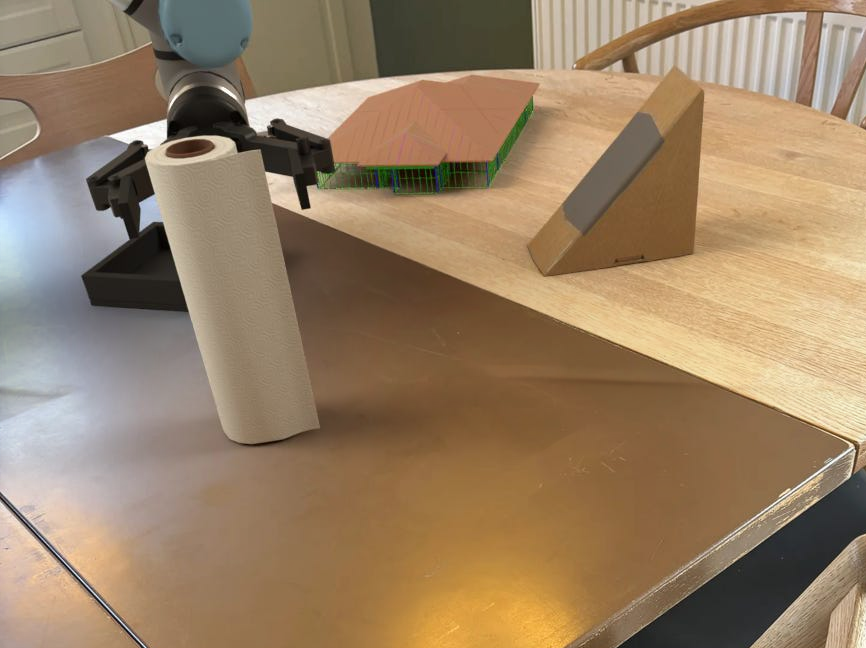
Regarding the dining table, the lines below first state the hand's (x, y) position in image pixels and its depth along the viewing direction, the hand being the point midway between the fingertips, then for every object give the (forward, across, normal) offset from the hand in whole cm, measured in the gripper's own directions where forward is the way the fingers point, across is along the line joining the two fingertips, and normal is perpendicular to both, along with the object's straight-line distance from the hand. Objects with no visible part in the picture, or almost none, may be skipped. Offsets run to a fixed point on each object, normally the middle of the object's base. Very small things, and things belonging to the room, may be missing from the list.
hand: (216, 206), depth 79 cm
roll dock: (-24, +6, -14) cm, 28 cm away
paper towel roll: (+10, 0, -15) cm, 18 cm away
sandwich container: (-13, -36, -15) cm, 41 cm away
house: (-52, -25, -15) cm, 60 cm away
